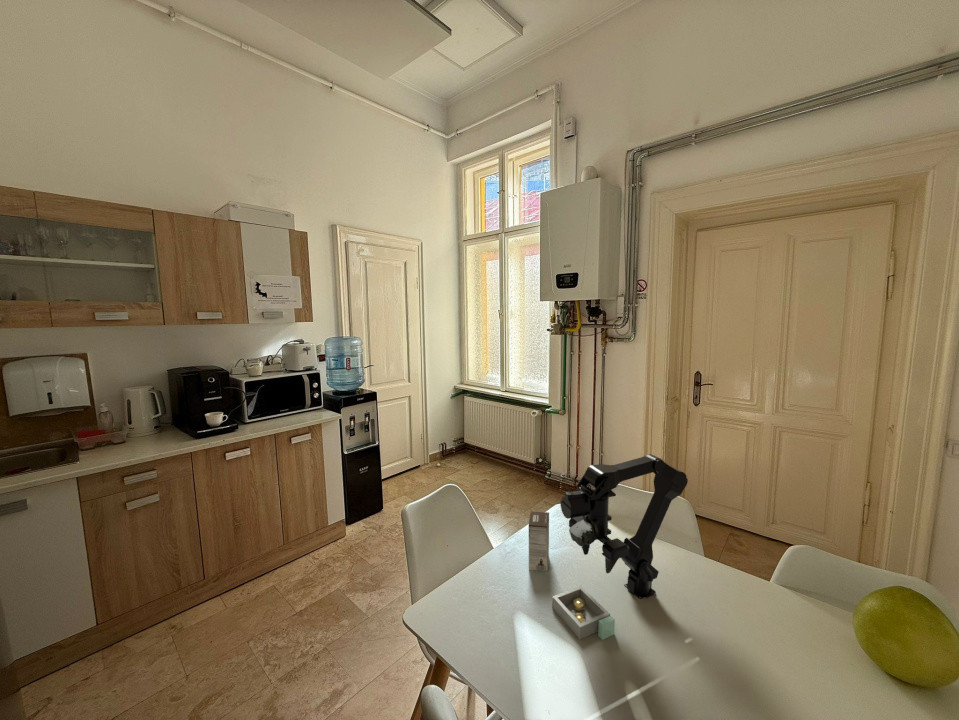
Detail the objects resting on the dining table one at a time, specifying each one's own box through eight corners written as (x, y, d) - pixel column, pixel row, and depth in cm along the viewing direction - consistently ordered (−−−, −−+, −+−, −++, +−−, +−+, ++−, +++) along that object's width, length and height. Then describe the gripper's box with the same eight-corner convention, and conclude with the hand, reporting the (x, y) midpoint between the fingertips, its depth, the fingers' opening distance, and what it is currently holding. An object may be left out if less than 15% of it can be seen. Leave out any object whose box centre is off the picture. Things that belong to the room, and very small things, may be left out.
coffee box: (530, 553, 136) (530, 510, 134) (549, 556, 135) (549, 511, 133) (528, 571, 127) (528, 524, 125) (548, 573, 126) (548, 526, 124)
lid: (616, 627, 104) (617, 609, 104) (653, 664, 94) (654, 644, 93) (586, 641, 100) (587, 622, 100) (621, 680, 89) (622, 659, 89)
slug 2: (580, 618, 107) (580, 611, 106) (587, 626, 104) (588, 619, 104) (571, 621, 105) (571, 615, 105) (578, 629, 103) (578, 623, 102)
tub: (580, 598, 115) (580, 585, 114) (610, 627, 104) (610, 614, 103) (552, 609, 111) (552, 596, 110) (579, 641, 100) (580, 627, 99)
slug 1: (579, 603, 112) (579, 596, 112) (586, 610, 109) (586, 603, 109) (571, 606, 111) (571, 600, 110) (578, 613, 108) (578, 607, 108)
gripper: (554, 503, 115) (553, 552, 117) (598, 535, 98) (596, 593, 100) (584, 495, 120) (583, 543, 121) (631, 525, 103) (629, 580, 105)
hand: (596, 563), depth 112 cm, fingers open, 9 cm apart
